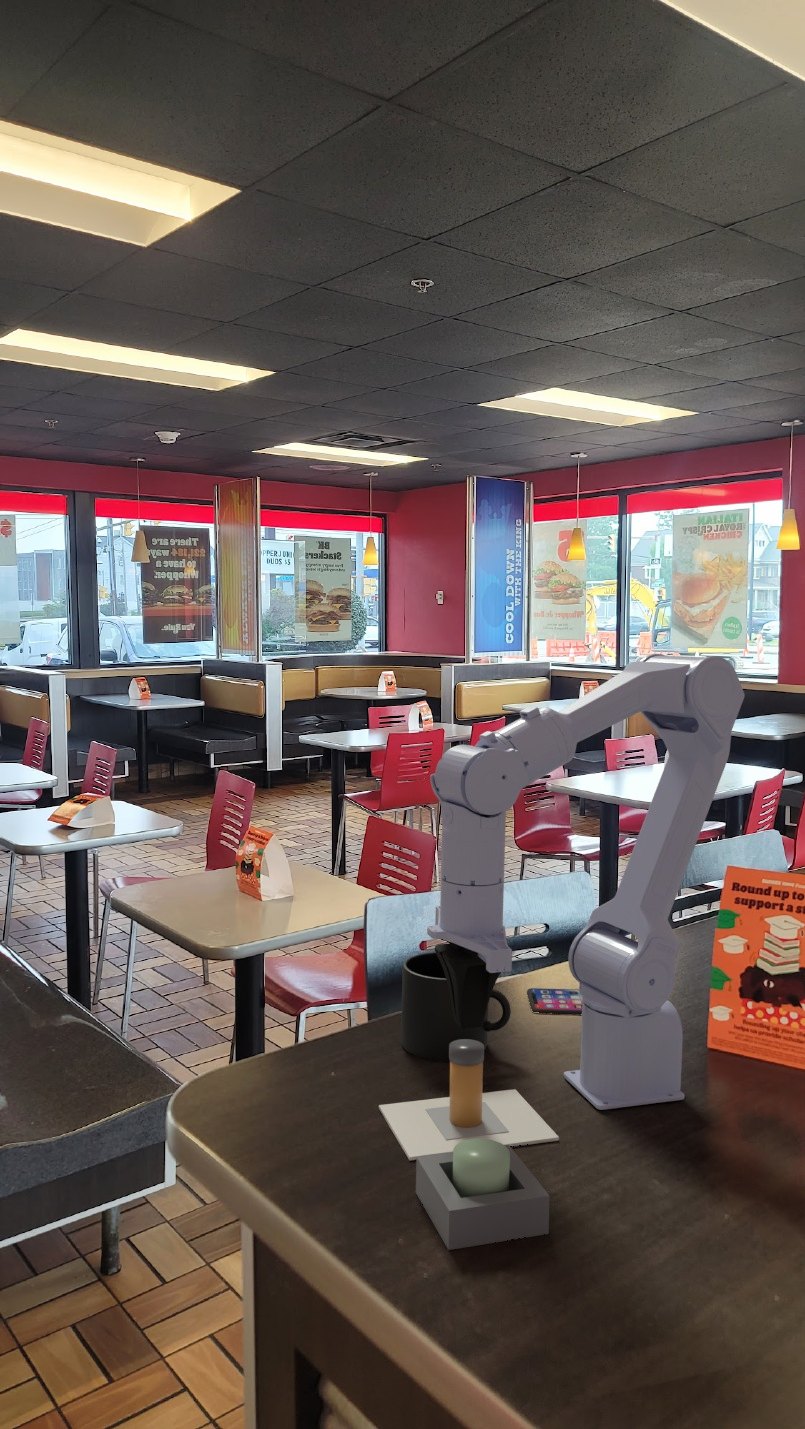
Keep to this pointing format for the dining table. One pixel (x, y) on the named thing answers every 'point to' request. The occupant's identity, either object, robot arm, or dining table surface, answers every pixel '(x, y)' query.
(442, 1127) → the paper
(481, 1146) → the button
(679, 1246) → the dining table surface
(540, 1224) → the button housing
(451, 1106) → the bottle
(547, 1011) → the smartphone
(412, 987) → the mug
